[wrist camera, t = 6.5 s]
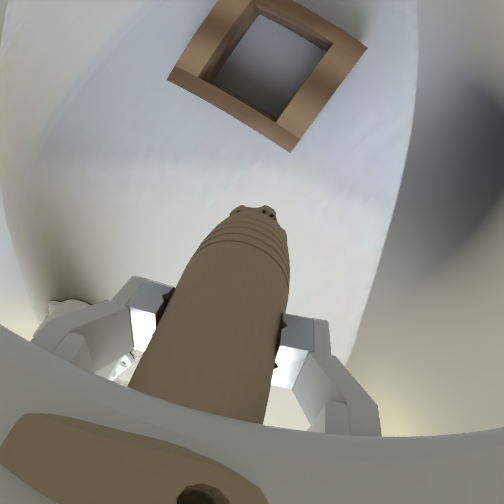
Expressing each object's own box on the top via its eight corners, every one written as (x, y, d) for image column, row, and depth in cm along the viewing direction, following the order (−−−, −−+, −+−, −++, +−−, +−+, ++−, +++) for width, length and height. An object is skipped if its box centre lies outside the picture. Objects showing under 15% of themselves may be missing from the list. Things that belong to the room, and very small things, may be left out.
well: (290, 146, 29) (290, 153, 25) (185, 82, 27) (166, 79, 23) (356, 56, 24) (367, 47, 20) (246, -6, 22) (238, -24, 18)
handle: (225, 161, 15) (-39, 426, 2) (330, 225, 16) (371, 566, 2) (186, 233, 17) (17, 478, 4) (281, 288, 18) (238, 568, 5)
